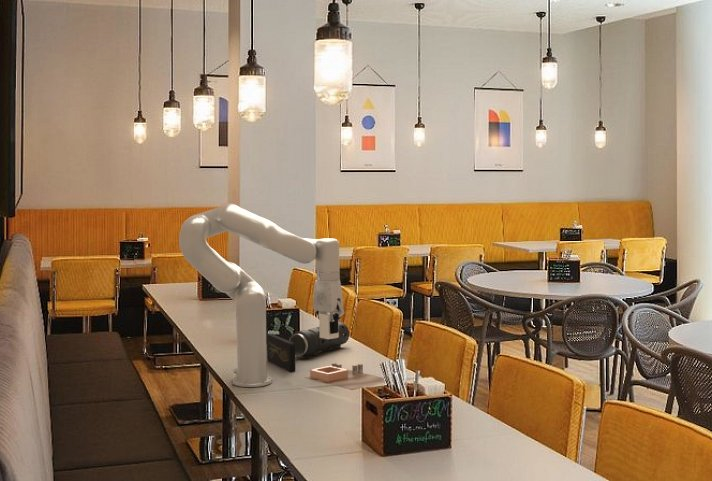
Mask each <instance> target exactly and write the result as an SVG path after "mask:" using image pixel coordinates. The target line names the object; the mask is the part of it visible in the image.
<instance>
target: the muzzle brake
mask: <svg viewBox="0 0 712 481" xmlns="http://www.w3.org/2000/svg"><path fill="white" fill-rule="evenodd" d="M338 325H339V337H338V338H333V339H324V338H320V328H319V326H317V327H314V328H310V329H303V330H299V331H295V332H294V333H293V334H292V335H291V337H289V340H288V341H291V342H293V343H294V344H295V357H300V358H305V357H306V358H311V357H314V356H315V354H317V353H325V352H329V351H331V350H335V349H337V348H341V346H342V345H344V344H346V343H347V342H348V341H349V339H350V330H349V328H348V326H347V325H346V324H345V323H344V322H342V321H338Z"/></svg>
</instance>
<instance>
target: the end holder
mask: <svg viewBox="0 0 712 481" xmlns="http://www.w3.org/2000/svg"><path fill="white" fill-rule="evenodd" d="M348 370H349V369H348ZM348 370H347V368H338V367H334V366H332V365H328V366H327V365H326V366H321V367H318V368H317V367H316V368H313V369H310V370H309V377H311V378H315V379H319V380H323V381H327V382H330V381H334V380H338V379H343V378H347V377H348Z"/></svg>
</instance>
